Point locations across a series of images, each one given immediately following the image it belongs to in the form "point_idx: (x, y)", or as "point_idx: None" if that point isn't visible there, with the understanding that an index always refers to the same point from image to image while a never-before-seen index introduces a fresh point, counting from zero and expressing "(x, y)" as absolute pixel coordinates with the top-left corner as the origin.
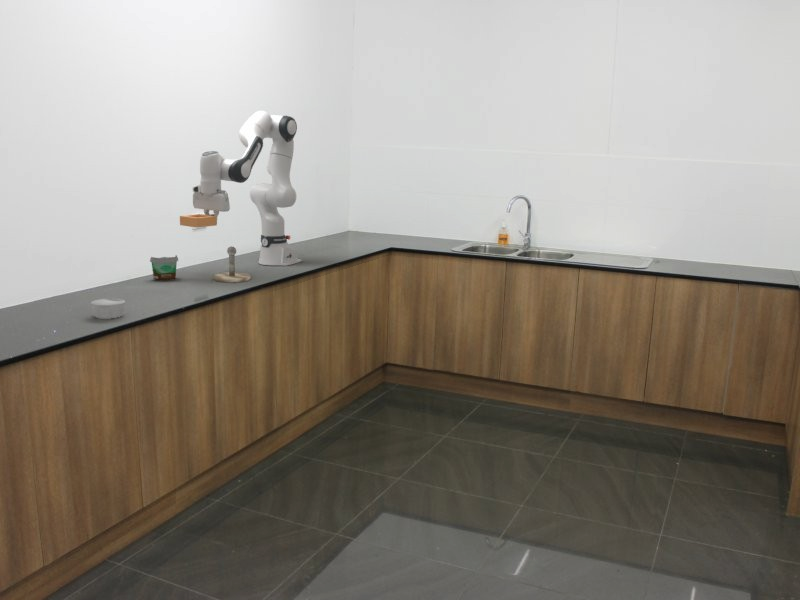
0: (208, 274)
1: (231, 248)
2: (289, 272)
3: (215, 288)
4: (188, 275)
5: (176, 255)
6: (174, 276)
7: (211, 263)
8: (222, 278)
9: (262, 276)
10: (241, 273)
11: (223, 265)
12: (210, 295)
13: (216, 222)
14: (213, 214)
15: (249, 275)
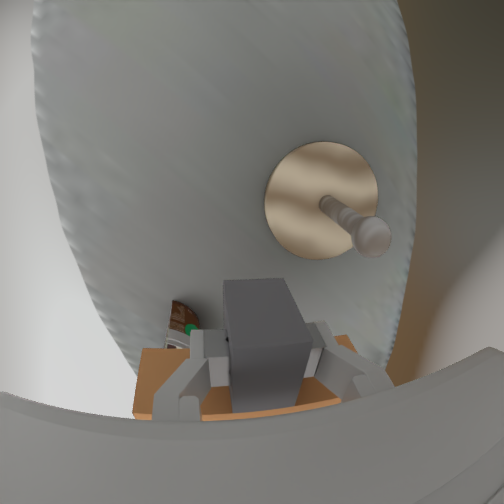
0: (203, 196)
1: (383, 252)
2: (375, 13)
3: (356, 308)
4: (171, 254)
5: (177, 346)
6: (196, 319)
7: (55, 60)
8: (331, 255)
9: (364, 106)
10: (325, 152)
11: (108, 44)
12: (378, 343)
13: (355, 350)
14: (263, 356)
15: (365, 164)
